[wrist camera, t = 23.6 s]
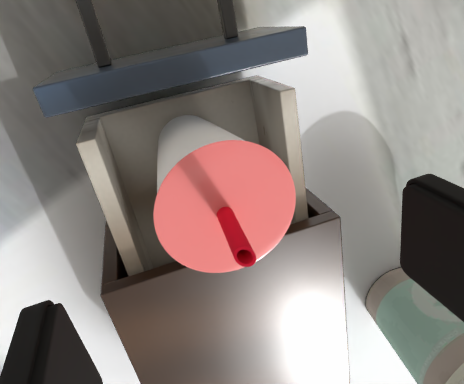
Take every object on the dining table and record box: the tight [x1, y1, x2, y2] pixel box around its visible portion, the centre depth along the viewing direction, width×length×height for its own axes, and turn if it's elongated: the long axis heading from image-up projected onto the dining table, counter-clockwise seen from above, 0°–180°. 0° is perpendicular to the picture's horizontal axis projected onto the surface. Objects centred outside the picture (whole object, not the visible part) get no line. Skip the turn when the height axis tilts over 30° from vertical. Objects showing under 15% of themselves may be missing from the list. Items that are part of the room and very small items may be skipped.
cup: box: [153, 115, 296, 273], centre depth 16 cm, size 5×5×12 cm
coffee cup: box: [366, 268, 464, 384], centre depth 29 cm, size 9×9×12 cm
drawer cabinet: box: [100, 187, 350, 384], centre depth 25 cm, size 15×13×8 cm
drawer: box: [33, 0, 308, 276], centre depth 19 cm, size 18×11×6 cm, turn 11°
